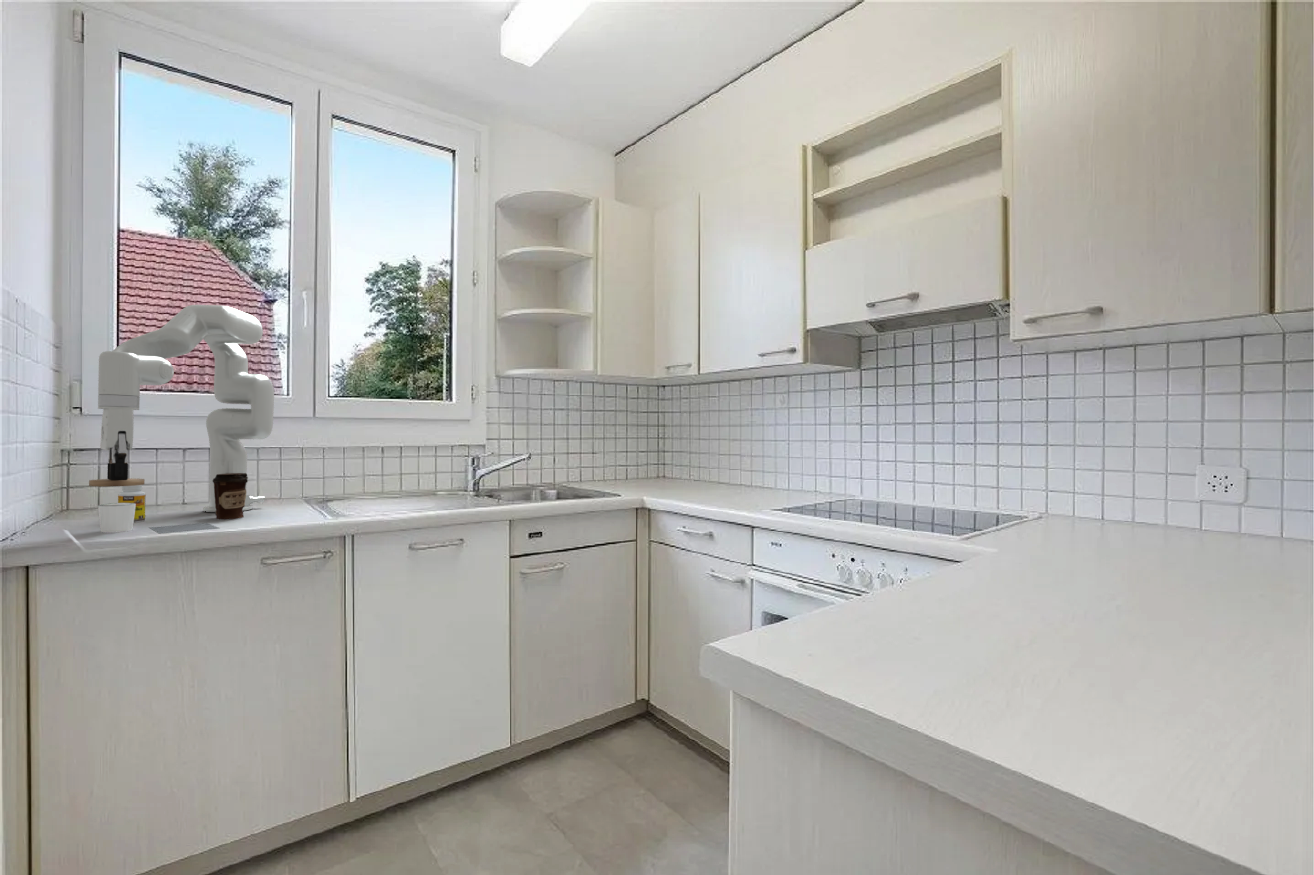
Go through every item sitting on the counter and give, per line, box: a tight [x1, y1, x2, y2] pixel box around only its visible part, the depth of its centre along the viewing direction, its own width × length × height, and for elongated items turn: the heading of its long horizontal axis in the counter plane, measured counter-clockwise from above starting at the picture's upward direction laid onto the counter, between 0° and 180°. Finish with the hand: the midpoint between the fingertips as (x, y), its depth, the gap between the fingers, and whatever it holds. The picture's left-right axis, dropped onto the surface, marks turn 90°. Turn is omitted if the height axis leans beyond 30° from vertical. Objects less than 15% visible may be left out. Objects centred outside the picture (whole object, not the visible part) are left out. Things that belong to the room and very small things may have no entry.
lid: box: [88, 460, 145, 488], centre depth 147 cm, size 10×10×6 cm
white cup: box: [97, 502, 136, 534], centre depth 148 cm, size 7×7×7 cm
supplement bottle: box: [117, 485, 147, 523], centre depth 163 cm, size 6×6×10 cm
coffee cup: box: [213, 473, 249, 520], centre depth 172 cm, size 9×8×13 cm
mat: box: [148, 522, 219, 535], centre depth 153 cm, size 12×12×1 cm
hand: (117, 479), depth 147 cm, fingers closed on lid, 2 cm apart
